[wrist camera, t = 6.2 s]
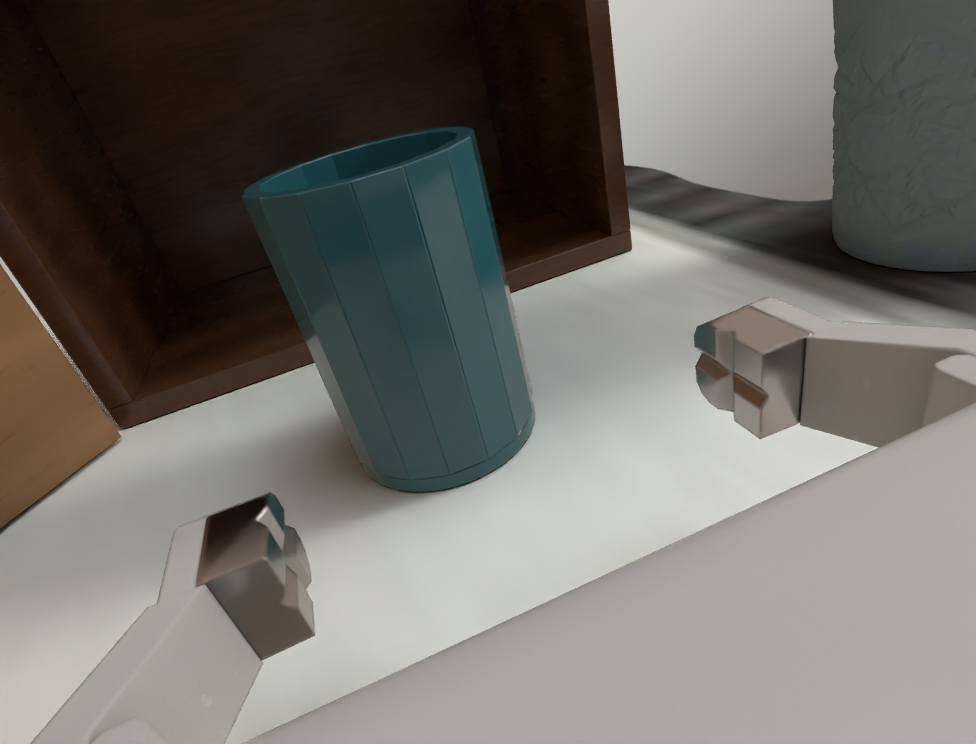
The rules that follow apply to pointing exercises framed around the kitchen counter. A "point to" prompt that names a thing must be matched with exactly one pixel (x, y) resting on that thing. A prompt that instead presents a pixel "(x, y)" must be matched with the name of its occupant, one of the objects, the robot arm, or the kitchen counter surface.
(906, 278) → the kitchen counter surface
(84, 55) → the cupboard
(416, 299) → the cup
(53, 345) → the cupboard door
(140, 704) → the robot arm
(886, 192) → the grey mug
